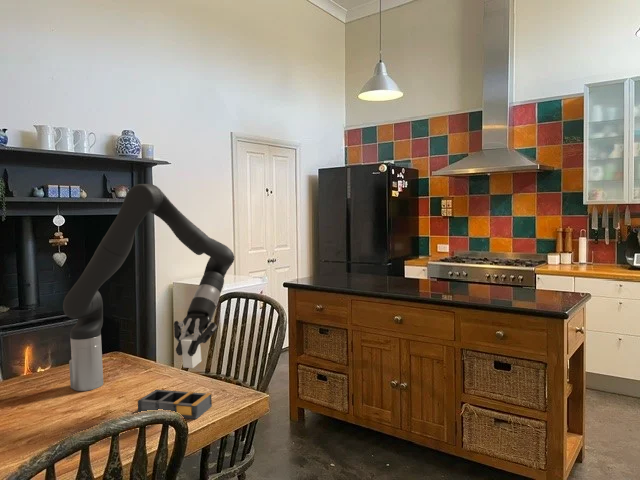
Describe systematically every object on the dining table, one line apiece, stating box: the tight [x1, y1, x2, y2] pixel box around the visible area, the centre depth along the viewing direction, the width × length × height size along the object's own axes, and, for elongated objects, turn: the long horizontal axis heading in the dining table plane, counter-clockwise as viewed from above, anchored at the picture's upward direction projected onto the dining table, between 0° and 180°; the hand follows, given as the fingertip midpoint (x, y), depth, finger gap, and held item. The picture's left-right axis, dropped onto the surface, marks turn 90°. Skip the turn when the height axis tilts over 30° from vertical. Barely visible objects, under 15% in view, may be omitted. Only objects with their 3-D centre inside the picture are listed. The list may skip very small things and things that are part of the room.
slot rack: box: [137, 389, 213, 420], centre depth 136 cm, size 19×9×4 cm, turn 75°
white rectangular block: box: [181, 334, 202, 369], centre depth 135 cm, size 3×5×8 cm, turn 165°
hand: (184, 354), depth 131 cm, fingers closed on white rectangular block, 3 cm apart
